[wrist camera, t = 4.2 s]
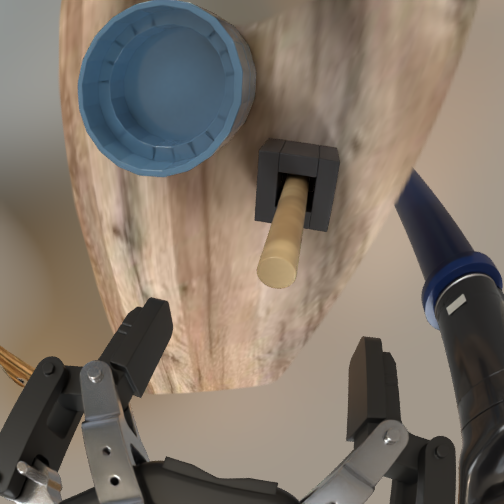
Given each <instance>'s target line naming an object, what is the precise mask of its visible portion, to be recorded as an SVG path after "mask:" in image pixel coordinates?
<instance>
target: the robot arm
mask: <svg viewBox="0 0 504 504" xmlns="http://www.w3.org/2000/svg"><path fill="white" fill-rule="evenodd" d="M434 313H435V317H436V320H437V322H438V325H439V328H440V332H441V335H442V339H443V343H444V347H445V350H446V355H447V359H448V363H449V367H450V371H451V376H452V381H453V386H454V390H455V396H456V402H457V408H458V413H459V419H460V426H461V433H462V450H461V454H460V459H459V494H458V504H504V294H503V292H502V290H501V288H500V286H496V284H495V282H494V280H493V279H492V278H491V276H489V275H488V274H486V273H484V272H477V271H475V272H469V273H465V274H463V275H460V276H458V277H457V278H455V279H453V280H452V281H451V282H449V283H448V284H447V285H446V286H445V287H444V288H443V289H442V291H441V292H440V293H439V295H438V297H437V299H436V301H435V305H434ZM172 331H173V323H172V318H171V313H170V307H169V303H168V301H165V300H161V299H156V298H152V297H151V298H149V299H148V300H147V302H146V304H145V305H144V307H143V308H142V307H136V308H135V309H134V310H132V311H131V312H130V313H128V315H127V316H126V318H125V319H124V321H123V322H122V325H120V327H119V328H118V331H117V332H116V333H115V334H114V336H113V338H112V339H111V341H110V343H109V344H108V345H107V347H106V349H105V350H104V352H103V353H102V355H101V357H100V358H99V359H98V360H95V361H91V362H89V363H87V364H86V365H85V366H84V367H78V366H65V365H64V364H63V363H62V361H61V360H60V359H59V358H57V357H53V356H52V357H47V358H45V359H43V360H42V361H41V362H40V363H39V364H38V365H37V367H36V369H35V370H34V372H33V374H32V375H31V377H30V379H29V380H28V382H27V384H26V386H25V387H24V389H23V391H22V393H21V394H20V396H19V398H18V400H17V402H16V403H15V405H14V407H13V409H12V411H11V413H10V415H9V416H8V419H7V420H6V422H5V424H4V427H3V428H2V430H1V432H0V496H2V497H4V498H6V499H7V500H10V501H12V502H15V503H17V504H364V503H365V502H366V501H367V499H368V498H369V497H370V496H371V495H372V493H373V492H374V490H375V486H376V484H377V483H378V482H379V481H380V479H381V478H382V477H383V476H385V477H388V478H391V479H392V488H391V497H390V504H455V490H456V456H455V447H454V444H453V443H452V441H451V440H450V439H448V438H447V437H444V436H437V437H435V438H433V439H432V440H427V439H424V438H421V437H418V436H415V435H413V434H411V433H409V432H408V431H407V429H406V427H405V426H404V425H403V424H402V421H401V415H400V401H399V390H398V379H397V370H396V363H395V361H394V359H393V357H392V355H391V354H390V353H389V352H383V351H382V342H381V339H380V338H373V337H364V336H363V337H362V338H361V339H360V342H359V344H358V346H357V348H356V350H355V352H354V354H353V356H352V358H351V361H350V366H349V387H348V390H349V391H348V419H347V437H346V440H347V441H352V442H354V450H353V451H352V452H351V453H350V454H349V455H348V456H347V457H346V458H345V459H344V460H343V461H342V462H341V463H340V464H339V465H338V466H337V467H336V468H335V469H334V470H333V471H332V472H331V473H330V474H329V475H328V476H327V477H326V478H325V479H324V480H323V481H322V482H321V483H319V484H318V485H317V486H316V487H315V488H314V489H312V491H310V492H309V493H308V494H307V495H306V496H305V497H303V498H302V499H301V500H300V501H298V500H297V499H296V498H295V497H294V496H293V495H291V494H290V493H288V492H287V491H285V490H283V489H280V488H278V487H277V486H278V483H276V482H269V481H263V480H257V479H251V478H236V479H222V478H217V477H215V476H213V475H211V474H209V473H207V472H205V471H203V470H201V469H200V468H198V467H196V466H194V465H192V464H189V463H185V462H182V461H179V460H176V459H173V458H170V457H166V458H165V461H149V458H148V455H147V452H146V450H145V448H144V446H143V444H142V442H141V439H140V436H139V433H138V430H137V426H136V423H135V419H134V416H133V412H132V408H131V404H130V400H131V398H132V395H135V396H137V397H140V398H141V397H142V395H143V393H144V391H145V389H146V387H147V385H148V383H149V381H150V379H151V377H152V375H153V372H154V370H155V368H156V366H157V364H158V362H159V360H160V358H161V356H162V354H163V352H164V350H165V348H166V346H167V344H168V342H169V340H170V338H171V336H172ZM83 413H84V414H85V421H84V422H82V433H83V439H84V444H85V449H86V454H87V458H88V463H89V467H90V471H91V475H92V479H93V482H94V486H95V487H93V488H91V489H88V490H86V491H84V492H82V493H79V494H77V495H75V496H73V497H71V498H68V499H65V500H63V501H62V499H61V494H60V491H61V490H62V484H61V478H60V476H59V474H58V470H59V468H60V465H61V463H62V461H63V458H64V456H65V453H66V451H67V449H68V446H69V444H70V442H71V439H72V437H73V435H74V432H75V431H76V428H77V426H78V424H79V422H80V420H81V417H82V415H83Z"/></svg>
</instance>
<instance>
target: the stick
mask: <svg viewBox="0 0 504 504" xmlns="http://www.w3.org/2000/svg"><path fill="white" fill-rule="evenodd" d="M309 178H310V176H303V175H296V174H289V173H288V175H287V178H286V181H285V184H284V187H283V190H282V193H281V197H280V200H279V203H278V206H277V209H276V212H275V215H274V218H273V221H272V224H271V227H270V230H269V233H268V236H267V239H266V242H265V245H264V249H263V252H262V255H261V258H260V261H259V264H258V267H257V274H258V277H259V279H260V280H261V281H262V282H263V283H264V284H265V285H267V286H269V287H271V288H277V289H281V288H286V287H288V286H290V285H291V284H292V283H293V282H294V281H295V279H296V275H297V269H298V262H299V255H300V248H301V241H302V234H303V227H304V219H305V211H306V203H307V195H308V187H309Z"/></svg>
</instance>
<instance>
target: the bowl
mask: <svg viewBox="0 0 504 504" xmlns="http://www.w3.org/2000/svg"><path fill="white" fill-rule="evenodd" d="M255 87H256V68H255V65H254V61H253V58H252V54H251V51H250V48H249V46H248V44H247V43H246V41H245V40H244V39H243V37H242V36H241V35H240V33H239V32H238V31H237V29H236V28H235V27H234V26H233V25H232V24H230V23H229V22H227V21H225V20H224V19H222V18H220V17H219V16H217V15H216V14H214V13H212V12H210V11H208V10H206V9H203V8H201V7H199V6H197V5H194V4H192V3H189V2H183V1H177V0H153V1H148V2H143V3H139V4H135V5H134V6H132V7H130V8H128V9H126V10H125V11H123V12H121V13H119V14H118V15H116V16H114V17H113V18H112V19H111V20H110V21H109V22H108V23H107V24H106V25H105V26H104V27H103V28H102V29H101V30H100V31H99V32H98V34H97V35H96V36H95V37H94V39H93V41H92V43H91V45H90V47H89V48H88V50H87V52H86V54H85V56H84V58H83V61H82V65H81V70H80V75H79V80H78V100H79V110H80V113H81V116H82V119H83V122H84V125H85V128H86V131H87V133H88V134H89V136H90V137H91V139H92V140H93V142H94V143H95V145H96V146H97V148H98V149H99V151H100V152H101V153H102V154H104V155H105V156H106V157H107V158H109V159H110V160H111V161H112V162H113V163H115V164H116V165H117V166H118V167H120V168H123V169H125V170H128V171H130V172H133V173H135V174H137V175H141V176H155V177H167V176H171V175H174V174H178V173H182V172H186V171H189V170H191V169H192V168H194V167H195V166H197V165H198V164H200V163H201V162H203V161H205V160H206V159H208V158H209V157H211V156H212V155H213V154H214V153H216V152H217V151H218V150H219V149H220V148H222V147H223V146H224V145H225V144H227V143H228V142H229V141H230V140H231V139H232V137H233V136H234V135H235V134H236V133H237V131H238V130H239V129H240V128H241V127H242V125H243V124H244V123H245V121H246V119H247V116H248V114H249V111H250V109H251V106H252V104H253V102H254V99H255Z"/></svg>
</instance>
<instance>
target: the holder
mask: <svg viewBox="0 0 504 504" xmlns="http://www.w3.org/2000/svg"><path fill="white" fill-rule="evenodd" d="M339 165H340V161H339V156H338V151H337V148H334V147H328V146H322V145H320V146H319V145H316V144H309V143H302V142H295V141H286V140H280V139H271V138H268V140H267V141H266V142H265V144H264V145H263V146H262V147H261V149H260V150H259V159H258V175H257V191H256V206H255V221H261V222H267V223H272V221H273V218H274V215H275V212H276V209H277V206H278V203H279V200H280V197H281V193H282V190H283V187H282V177H283V173H289V174H296V175H303V176H310V177H315V181H314V188H313V192H311V191H308V195H307V203H306V211H305V219H304V227H303V228H305V229H308V228H309V229H312V230H318V231H324V232H327V230H328V225H329V220H330V215H331V210H332V204H333V199H334V194H335V188H336V183H337V177H338V171H339Z"/></svg>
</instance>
